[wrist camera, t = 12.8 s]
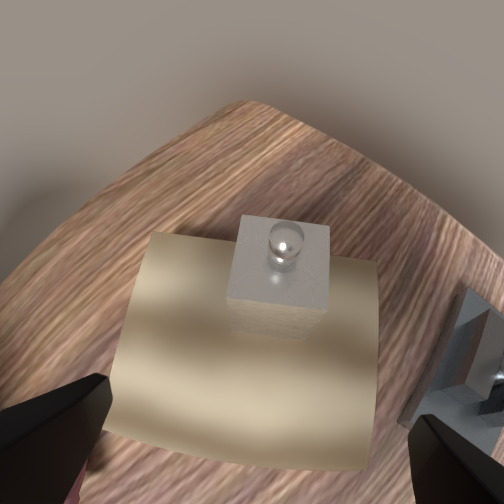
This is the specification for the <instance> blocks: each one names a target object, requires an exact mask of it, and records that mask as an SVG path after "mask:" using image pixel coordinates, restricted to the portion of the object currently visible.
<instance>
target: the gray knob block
mask: <svg viewBox="0 0 504 504" xmlns="http://www.w3.org/2000/svg"><path fill="white" fill-rule="evenodd" d="M329 262H330V226H326V225H319V224H312V223H305V222H298V221H290V220H282V219H275V218H267V217H259V216H251V215H242V217H241V222H240V227H239V232H238V237H237V242H236V247H235V253H234V258H233V263H232V268H231V273H230V279H229V284H228V289H227V294H226V300H227V306H228V312H229V318H230V324H231V329H232V332H239V333H246V334H253V335H260V336H268V337H276V338H284V339H293V340H302V341H306V339H307V338H308V337H309V335H310V334H311V333H312V331H313V330H314V328H315V327H316V326H317V324H318V323H319V322H320V320H321V319H322V317H323V316H324V315H325V313H326V312H327V311H328V295H329Z"/></svg>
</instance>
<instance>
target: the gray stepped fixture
mask: <svg viewBox="0 0 504 504" xmlns="http://www.w3.org/2000/svg"><path fill="white" fill-rule="evenodd" d="M422 414H433V415H435V416H436V417H437V418H439V419H440V420H441V421H443V422H444V423H445V424H447V425H448V426H449V427H451V428H452V429H453V430H455V431H456V432H457V433H459V434H460V435H461V436H463V437H464V438H465V439H467V440H468V441H469V442H471V443H472V444H474V445H475V446H476V447H478V448H479V449H480V450H482V451H483V452H484V453H486V454H487V455H489V456H490V455H491V453H492V451H493V449H494V446H495V444H496V442H497V440H498V437H499V435H500V433H501V430H502V428H503V426H504V316H503V315H502V314H501V313H500V312H499V311H497V310H496V309H495V308H494V307H493V306H491V305H490V304H489V303H488V302H487V301H485V300H484V299H483V298H482V297H481V296H479V295H478V294H477V293H476V292H474V291H473V290H472V289H471V288H469V287H467V288H466V289H465V290H463V291H462V292H461V293H460V294H458V295H457V296H456V297H455V300H454V303H453V306H452V308H451V311H450V314H449V316H448V319H447V321H446V324H445V326H444V329H443V331H442V334H441V336H440V338H439V341H438V343H437V345H436V348H435V350H434V352H433V354H432V356H431V359H430V361H429V363H428V365H427V367H426V369H425V371H424V373H423V375H422V377H421V379H420V381H419V383H418V385H417V387H416V389H415V391H414V393H413V394H412V396H411V398H410V400H409V402H408V404H407V405H406V407H405V409H404V411H403V412H402V414H401V416H400V417H399V419H398V421H397V422H398V423H399V424H401V425H403V426H404V427H406V428H407V429H409V430H411V429H412V427H413V425H414V423H415V422H416V420H417V418H418V417H419V416H420V415H422Z"/></svg>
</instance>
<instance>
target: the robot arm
mask: <svg viewBox="0 0 504 504" xmlns="http://www.w3.org/2000/svg"><path fill="white" fill-rule="evenodd" d="M112 402H113V395H112V390H111V384H110V379H109V378H108V377H107V376H106V375H102V374H99V373H93V374H91V375H89V376H86V377H84V378H81V379H79V380H77V381H74V382H72V383H70V384H67V385H65V386H62V387H60V388H57V389H55V390H52V391H50V392H47V393H45V394H42V395H40V396H37V397H35V398H32V399H30V400H27V401H25V402H22V403H20V404H17V405H14V406H12V407H9V408H6V409H4V410H1V412H0V504H64V502H65V500H66V498H67V497H68V495H69V493H70V491H71V489H72V487H73V485H74V483H75V481H76V479H77V478H78V476H79V474H80V472H81V470H82V468H83V466H84V464H85V463H86V461H87V459H88V457H89V455H90V453H91V452H92V450H93V448H94V446H95V444H96V442H97V440H98V437H99V435H100V432H101V430H102V427H103V425H104V422H105V420H106V417H107V415H108V412H109V410H110V408H111V405H112ZM408 447H409V457H410V467H411V478H412V484H413V490H414V495H415V500H416V504H504V466H502V465H501V464H500V463H498V462H497V461H495V460H494V459H493V458H491V457H490V456H489V455H487V454H486V453H484V452H483V451H482V450H480V449H479V448H478V447H476V446H475V445H474V444H472V443H471V442H469V441H468V440H467V439H465V438H464V437H463V436H461V435H460V434H459V433H457V432H456V431H455V430H453V429H452V428H451V427H449V426H448V425H447V424H445V423H444V422H443V421H441V420H440V419H439V418H437V417H436V416H435V415H433V414H422V415H420V416H419V417H418V418H417V420H416V422H415V423H414V425H413V427H412V429H411V430H410V432H409V435H408Z"/></svg>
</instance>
